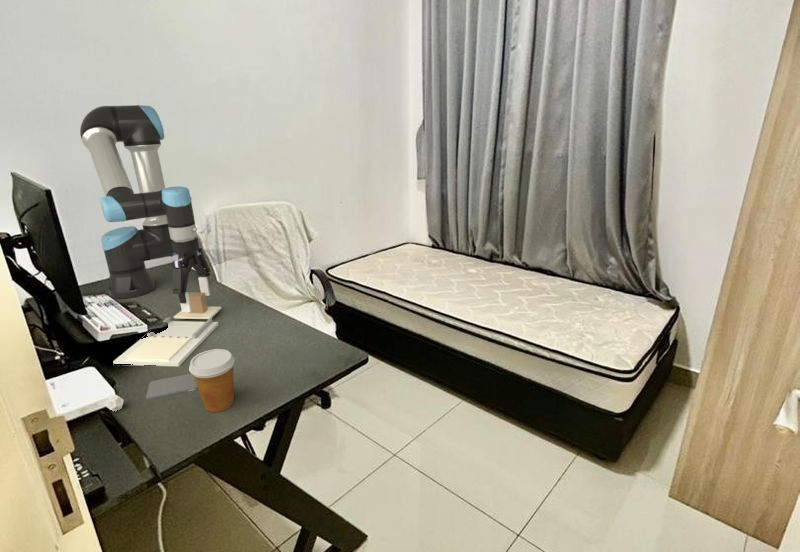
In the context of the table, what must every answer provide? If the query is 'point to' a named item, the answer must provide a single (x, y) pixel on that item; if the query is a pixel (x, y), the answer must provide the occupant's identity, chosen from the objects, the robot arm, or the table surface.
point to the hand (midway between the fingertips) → (196, 303)
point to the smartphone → (171, 386)
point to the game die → (114, 403)
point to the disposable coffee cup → (214, 378)
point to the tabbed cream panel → (198, 308)
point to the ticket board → (168, 344)
